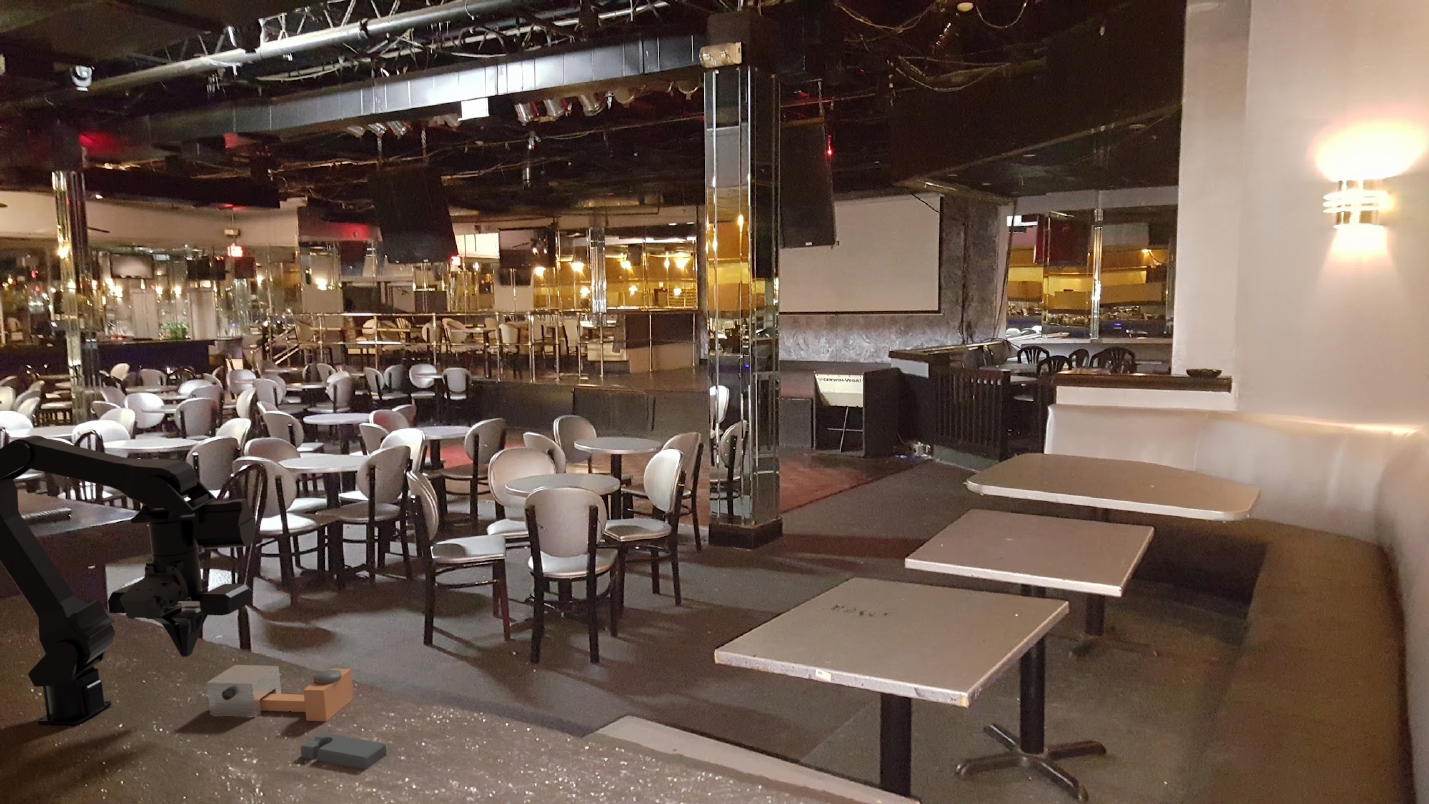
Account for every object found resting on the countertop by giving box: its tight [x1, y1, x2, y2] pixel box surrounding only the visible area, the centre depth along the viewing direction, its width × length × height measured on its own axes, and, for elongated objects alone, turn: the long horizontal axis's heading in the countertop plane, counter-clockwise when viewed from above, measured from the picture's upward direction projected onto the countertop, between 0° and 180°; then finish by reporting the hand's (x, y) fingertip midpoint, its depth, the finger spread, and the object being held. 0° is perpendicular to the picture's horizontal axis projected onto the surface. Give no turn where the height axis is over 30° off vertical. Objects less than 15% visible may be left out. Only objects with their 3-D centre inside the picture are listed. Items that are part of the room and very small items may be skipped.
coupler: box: [260, 668, 354, 722], centre depth 129 cm, size 13×7×5 cm, turn 82°
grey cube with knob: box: [206, 664, 282, 718], centre depth 130 cm, size 7×7×5 cm
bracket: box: [300, 732, 387, 770], centre depth 115 cm, size 4×10×2 cm, turn 70°
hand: (186, 655), depth 131 cm, fingers closed
